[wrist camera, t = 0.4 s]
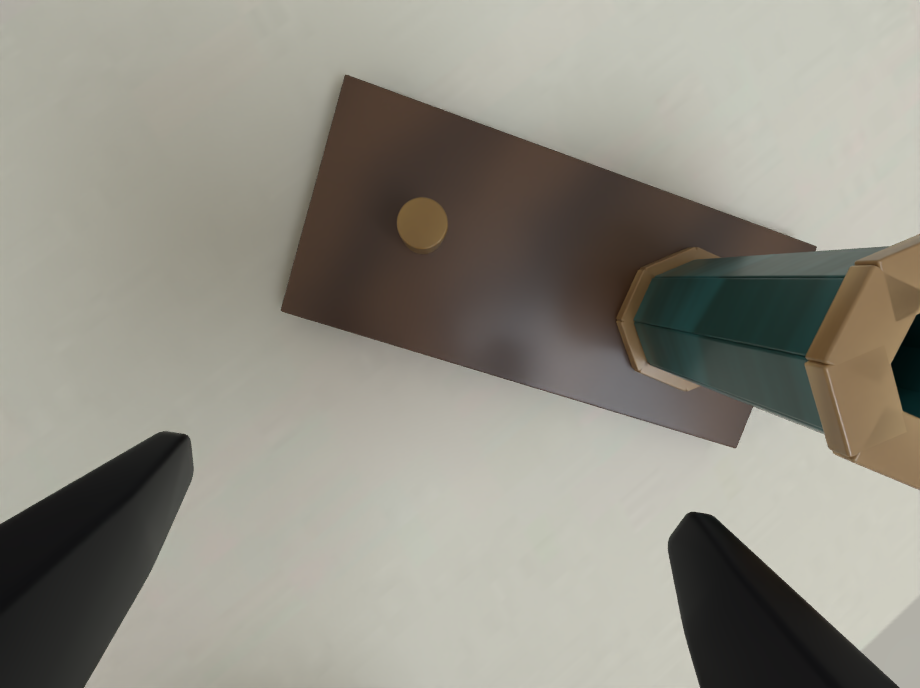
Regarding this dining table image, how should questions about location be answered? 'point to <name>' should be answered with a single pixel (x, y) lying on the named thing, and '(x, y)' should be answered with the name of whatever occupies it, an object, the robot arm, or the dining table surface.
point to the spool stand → (500, 255)
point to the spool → (793, 341)
